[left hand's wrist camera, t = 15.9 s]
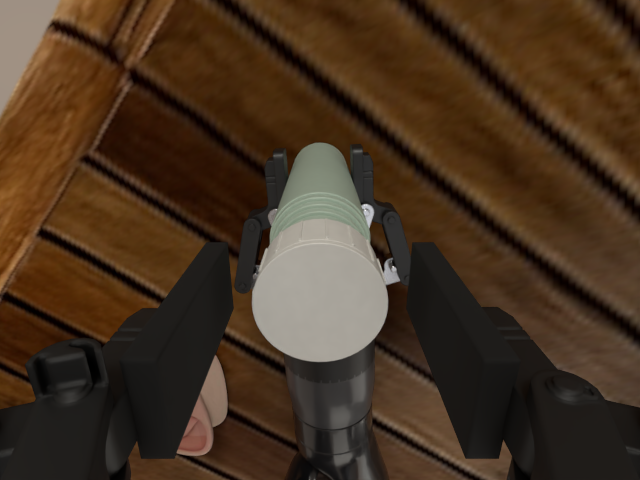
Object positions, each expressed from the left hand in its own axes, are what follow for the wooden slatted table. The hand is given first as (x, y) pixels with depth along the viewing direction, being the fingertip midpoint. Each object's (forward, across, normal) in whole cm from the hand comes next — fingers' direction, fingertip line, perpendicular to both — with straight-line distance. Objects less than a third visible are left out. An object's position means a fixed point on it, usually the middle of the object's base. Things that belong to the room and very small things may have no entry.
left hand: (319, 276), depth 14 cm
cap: (-2, 0, 0) cm, 2 cm away
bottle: (+20, 0, 0) cm, 20 cm away
